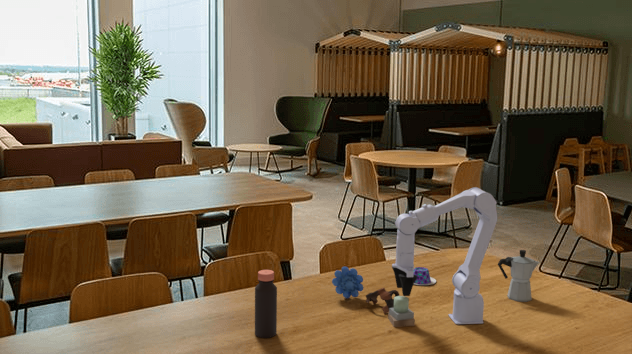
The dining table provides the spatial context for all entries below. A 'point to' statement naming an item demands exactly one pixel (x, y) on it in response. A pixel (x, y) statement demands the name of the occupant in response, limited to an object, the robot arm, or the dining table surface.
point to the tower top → (401, 314)
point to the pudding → (423, 276)
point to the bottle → (265, 305)
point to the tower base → (401, 322)
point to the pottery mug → (383, 298)
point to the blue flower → (348, 282)
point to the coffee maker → (519, 276)
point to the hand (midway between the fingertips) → (403, 291)
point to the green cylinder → (401, 304)
